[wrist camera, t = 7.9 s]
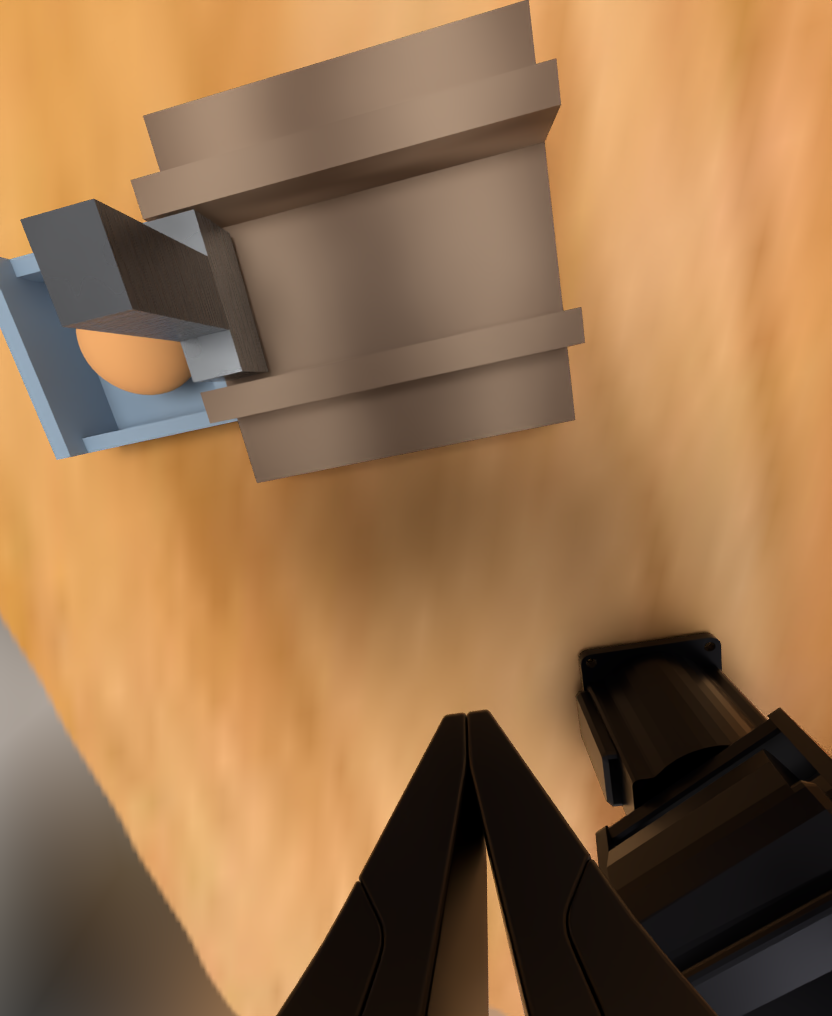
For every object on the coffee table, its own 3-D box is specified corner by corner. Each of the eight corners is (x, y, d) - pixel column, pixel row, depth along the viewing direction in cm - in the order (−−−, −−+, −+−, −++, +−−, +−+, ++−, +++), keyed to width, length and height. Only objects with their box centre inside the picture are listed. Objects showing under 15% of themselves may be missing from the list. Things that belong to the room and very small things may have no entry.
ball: (162, 297, 19) (195, 266, 16) (193, 392, 20) (229, 378, 18) (49, 300, 17) (65, 264, 14) (91, 408, 18) (115, 396, 15)
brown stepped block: (510, 77, 16) (543, -67, 11) (552, 412, 19) (593, 425, 14) (200, 165, 17) (96, 75, 12) (286, 465, 21) (234, 496, 15)
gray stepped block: (229, 233, 15) (68, 125, 8) (268, 371, 16) (153, 369, 10) (184, 245, 15) (-9, 148, 9) (226, 381, 16) (85, 385, 10)
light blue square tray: (213, 235, 18) (161, 204, 15) (265, 414, 20) (230, 422, 17) (53, 278, 19) (-30, 257, 16) (118, 446, 21) (57, 459, 18)
